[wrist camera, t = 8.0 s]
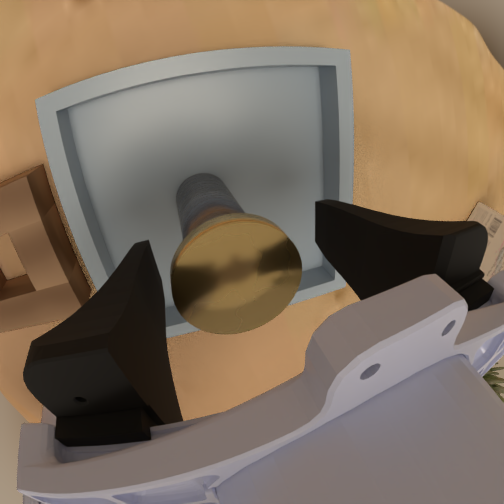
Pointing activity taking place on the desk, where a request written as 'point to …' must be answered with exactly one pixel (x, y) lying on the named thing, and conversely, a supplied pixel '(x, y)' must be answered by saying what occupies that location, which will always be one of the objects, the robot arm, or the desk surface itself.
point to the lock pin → (229, 261)
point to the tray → (202, 151)
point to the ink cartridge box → (491, 239)
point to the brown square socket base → (37, 256)
